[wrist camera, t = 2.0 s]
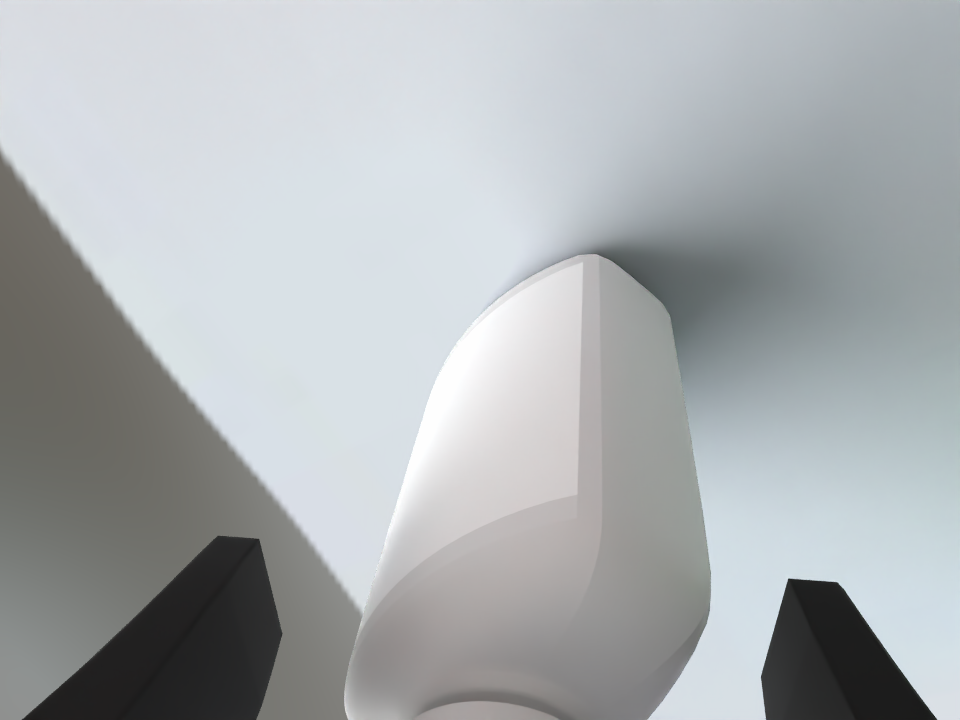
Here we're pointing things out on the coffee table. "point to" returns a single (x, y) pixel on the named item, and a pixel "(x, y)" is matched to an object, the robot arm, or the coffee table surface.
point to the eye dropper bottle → (543, 519)
